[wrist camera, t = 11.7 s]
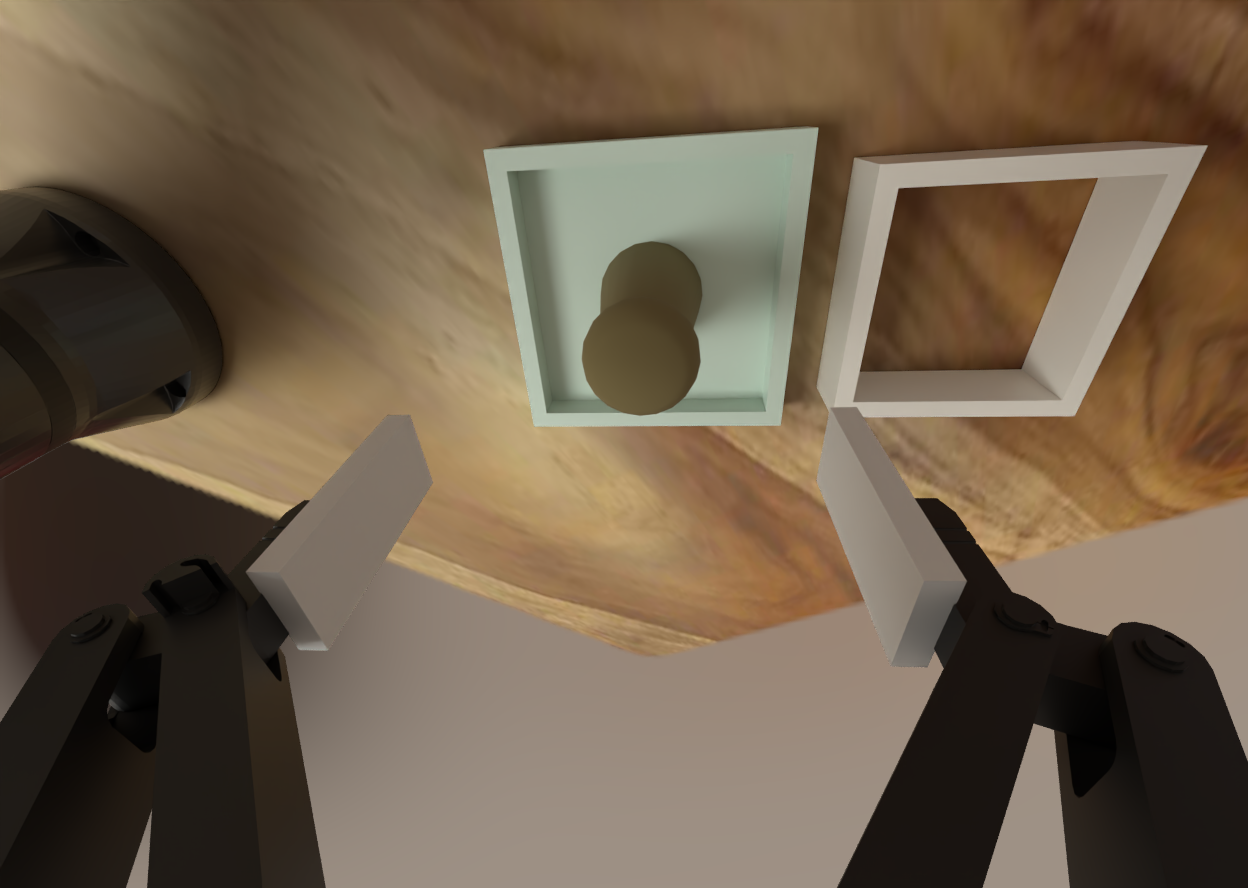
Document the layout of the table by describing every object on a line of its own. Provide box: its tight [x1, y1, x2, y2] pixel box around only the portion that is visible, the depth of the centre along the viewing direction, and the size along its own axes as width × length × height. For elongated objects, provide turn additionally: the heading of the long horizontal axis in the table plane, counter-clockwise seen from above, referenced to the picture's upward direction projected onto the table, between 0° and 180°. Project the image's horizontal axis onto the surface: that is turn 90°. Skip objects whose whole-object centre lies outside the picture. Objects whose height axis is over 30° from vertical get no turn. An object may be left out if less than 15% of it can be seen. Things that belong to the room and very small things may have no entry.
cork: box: [582, 241, 703, 416], centre depth 25 cm, size 6×6×11 cm
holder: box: [816, 141, 1208, 417], centre depth 27 cm, size 13×13×4 cm
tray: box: [483, 126, 818, 427], centre depth 29 cm, size 16×16×2 cm
